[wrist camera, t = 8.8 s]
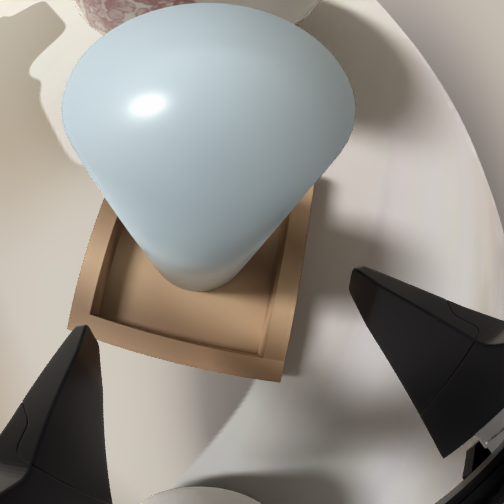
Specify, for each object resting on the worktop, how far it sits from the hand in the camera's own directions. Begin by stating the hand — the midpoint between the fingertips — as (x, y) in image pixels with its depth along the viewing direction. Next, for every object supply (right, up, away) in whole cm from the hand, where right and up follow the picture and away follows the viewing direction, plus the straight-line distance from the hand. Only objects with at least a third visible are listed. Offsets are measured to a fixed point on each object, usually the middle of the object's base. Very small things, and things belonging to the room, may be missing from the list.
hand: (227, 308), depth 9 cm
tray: (-3, +2, +9) cm, 10 cm away
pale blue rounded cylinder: (-2, +2, +8) cm, 9 cm away
